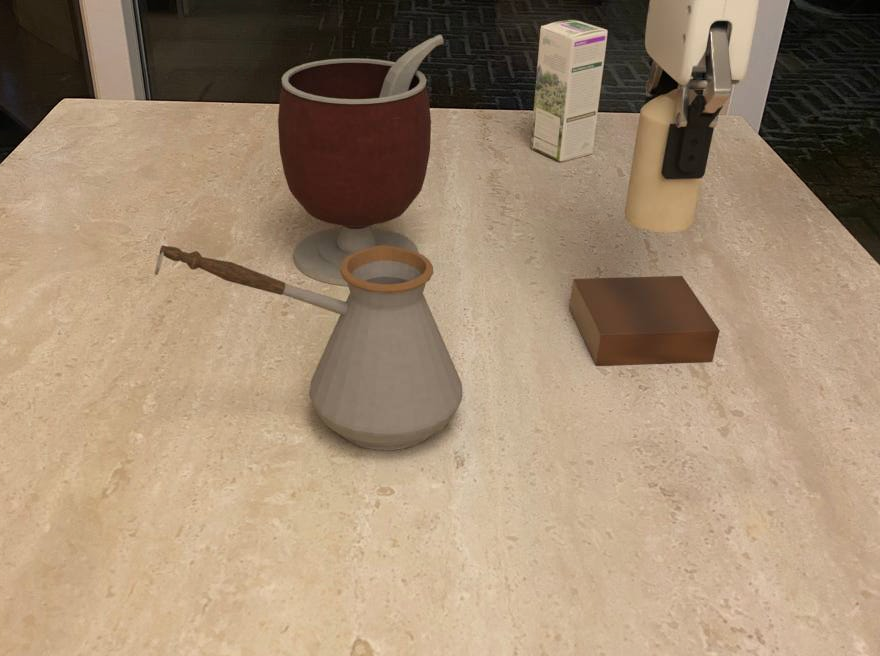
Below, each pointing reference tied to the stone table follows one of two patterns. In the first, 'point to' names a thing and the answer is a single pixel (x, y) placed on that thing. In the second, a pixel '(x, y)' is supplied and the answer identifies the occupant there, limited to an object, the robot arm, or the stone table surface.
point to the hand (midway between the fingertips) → (669, 159)
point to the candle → (658, 173)
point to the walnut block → (642, 320)
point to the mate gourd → (354, 151)
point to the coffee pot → (370, 347)
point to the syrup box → (568, 89)
